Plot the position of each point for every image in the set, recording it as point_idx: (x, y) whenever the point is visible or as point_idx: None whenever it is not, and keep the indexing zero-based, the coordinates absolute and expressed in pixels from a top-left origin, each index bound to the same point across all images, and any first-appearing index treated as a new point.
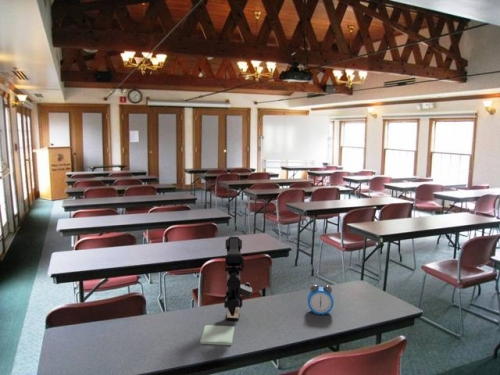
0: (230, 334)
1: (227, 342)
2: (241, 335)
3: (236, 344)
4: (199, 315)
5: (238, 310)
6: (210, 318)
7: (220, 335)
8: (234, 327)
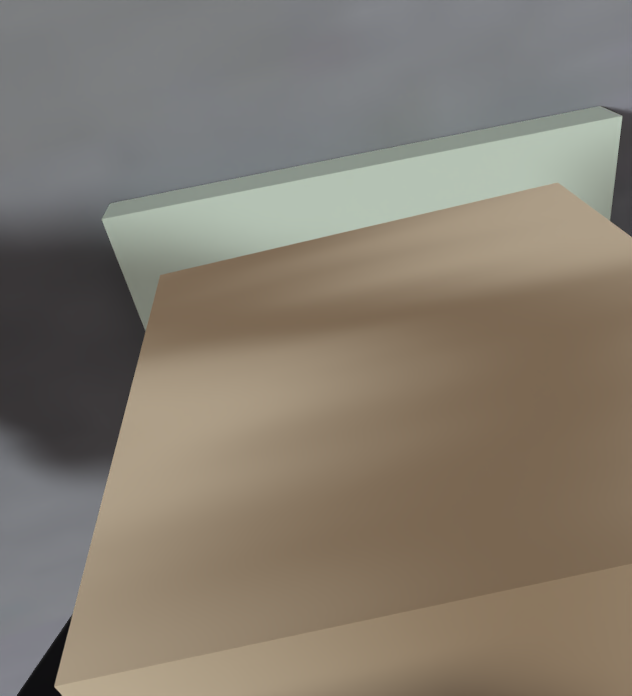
0: (375, 209)
1: (613, 184)
2: (273, 16)
3: (575, 30)
4: (8, 639)
5: (601, 335)
6: (3, 547)
7: None
8: (114, 212)
